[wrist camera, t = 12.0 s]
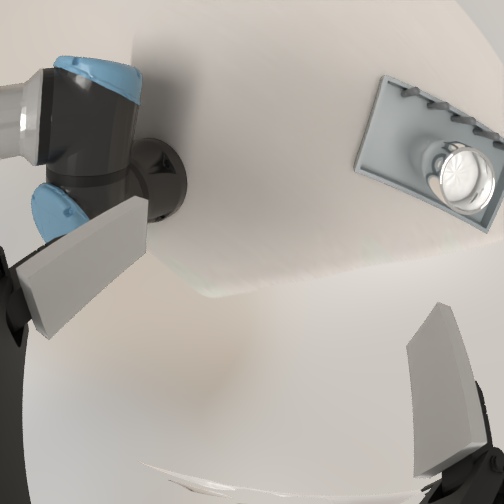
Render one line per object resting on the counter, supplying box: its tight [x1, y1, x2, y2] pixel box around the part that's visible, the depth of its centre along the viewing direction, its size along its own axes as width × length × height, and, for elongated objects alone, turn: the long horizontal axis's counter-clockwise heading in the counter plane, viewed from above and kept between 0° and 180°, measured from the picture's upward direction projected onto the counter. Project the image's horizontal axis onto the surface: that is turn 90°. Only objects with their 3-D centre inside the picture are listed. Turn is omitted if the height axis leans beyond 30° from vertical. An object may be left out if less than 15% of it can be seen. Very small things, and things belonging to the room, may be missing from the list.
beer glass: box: [409, 136, 495, 215], centre depth 27 cm, size 7×7×15 cm
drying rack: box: [354, 75, 504, 234], centre depth 30 cm, size 23×14×8 cm, turn 76°
